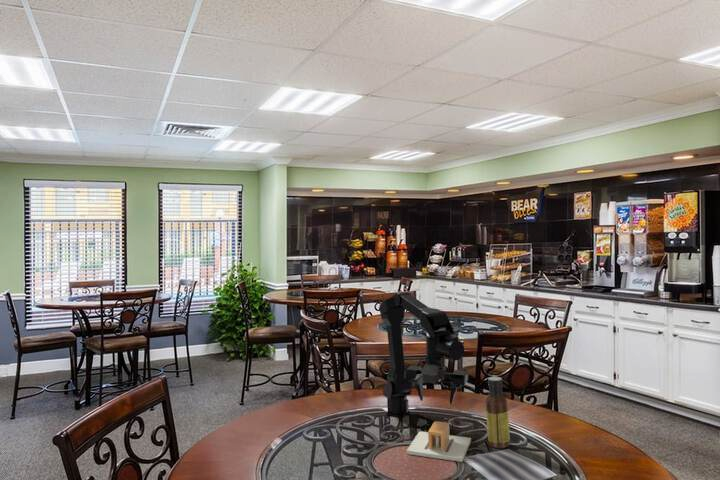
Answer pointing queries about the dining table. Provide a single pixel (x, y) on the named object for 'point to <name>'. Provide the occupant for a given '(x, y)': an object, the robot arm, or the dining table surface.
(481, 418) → the dining table surface
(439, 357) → the robot arm
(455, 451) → the board
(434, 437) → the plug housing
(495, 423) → the sauce bottle
